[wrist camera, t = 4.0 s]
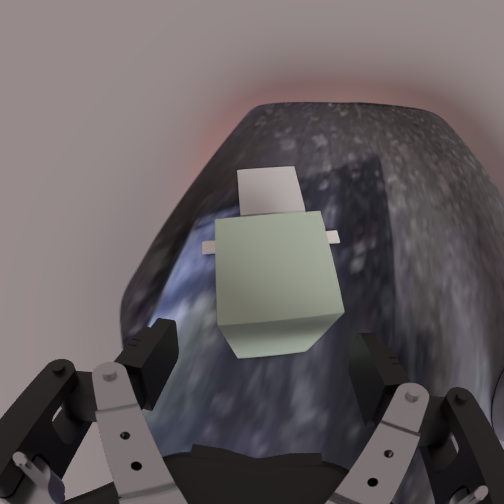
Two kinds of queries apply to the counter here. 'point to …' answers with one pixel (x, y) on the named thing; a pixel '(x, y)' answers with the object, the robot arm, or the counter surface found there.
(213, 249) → the pale grey thin rod
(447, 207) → the counter surface
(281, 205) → the mat
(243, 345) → the sage block
